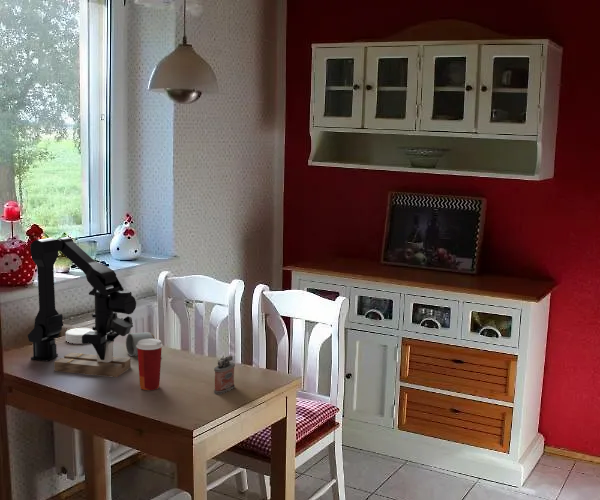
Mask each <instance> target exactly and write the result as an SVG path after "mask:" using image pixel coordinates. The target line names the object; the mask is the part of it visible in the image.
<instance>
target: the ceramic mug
mask: <svg viewBox="0 0 600 500" xmlns="http://www.w3.org/2000/svg"><path fill="white" fill-rule="evenodd" d="M143 339H156V338H155V336H154V334H153V333H152V332H149V331H148V332H147V331H146V332H145V331H144V332H129V334H126V339H125V348H126V351H127V354H128V355H129V356H130V357H134V356H138V350H137V347H136V345H137V343H138V341H140V340H143Z"/></svg>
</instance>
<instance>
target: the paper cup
mask: <svg viewBox="0 0 600 500" xmlns="http://www.w3.org/2000/svg"><path fill="white" fill-rule="evenodd" d="M136 347H137V350H138V355H137V360H138V361H137V363H138V375H139V376H138V378H139V387H140V390H143V391H154V390H157V389H159V388H160V381H161V380H160V379H161V367H162V366H161V365H162V347H164V345H163V343H162V340H160V339H159V338H158V339H157V338H155V339H143V340H140V341H138V343H137V345H136Z"/></svg>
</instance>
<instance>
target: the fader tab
mask: <svg viewBox="0 0 600 500" xmlns="http://www.w3.org/2000/svg"><path fill="white" fill-rule="evenodd" d="M96 355H97V361H100V362H106V363H108V362H110V361H112V360H113V357H114V342H113V341H109V342H108V343H107V344H106V351H105V359H104V360H101V359H100V357H99V355H98V354H97V353H96Z"/></svg>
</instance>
